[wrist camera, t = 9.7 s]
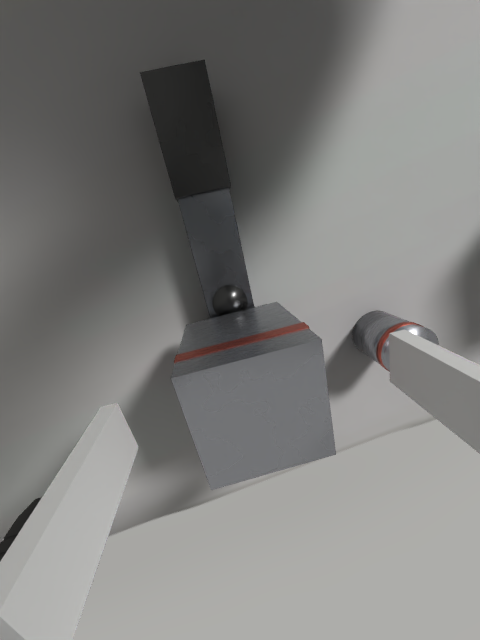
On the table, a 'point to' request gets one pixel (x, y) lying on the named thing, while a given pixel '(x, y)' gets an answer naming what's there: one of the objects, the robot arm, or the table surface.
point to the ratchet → (200, 181)
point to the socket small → (384, 334)
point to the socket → (253, 393)
